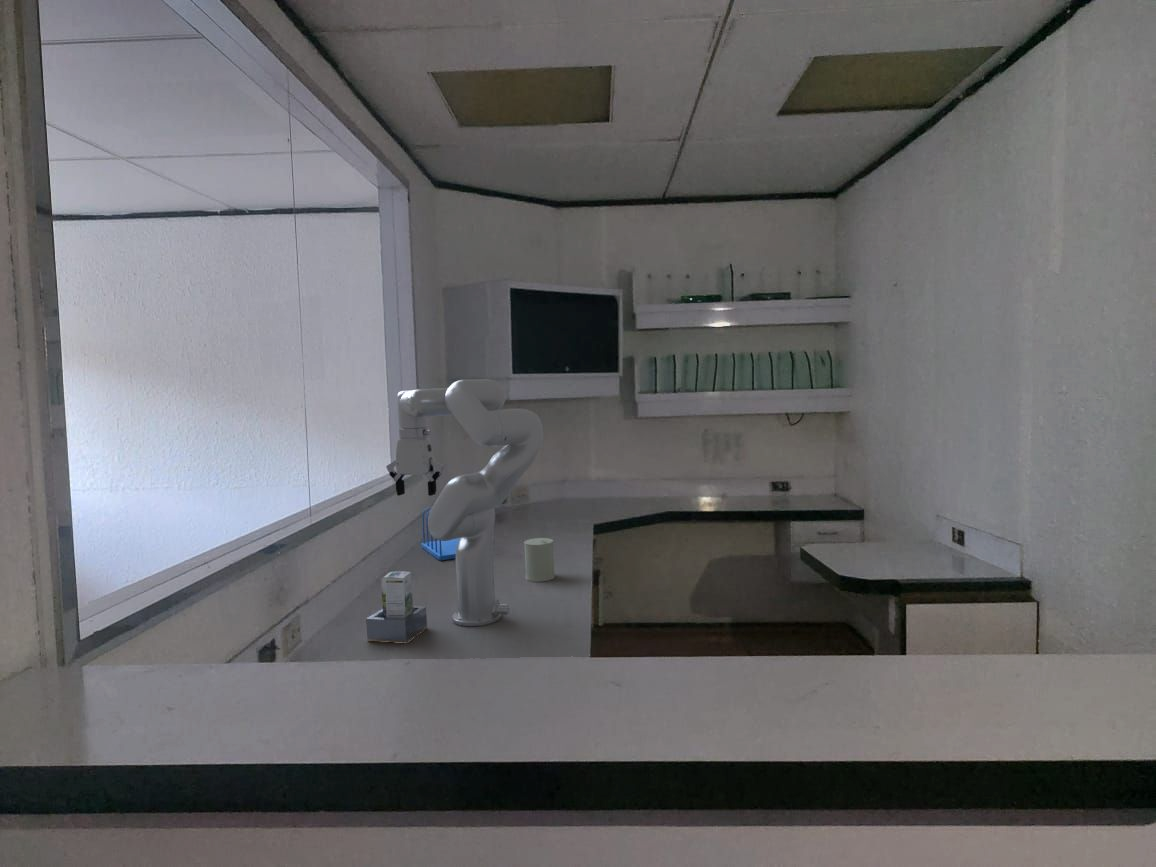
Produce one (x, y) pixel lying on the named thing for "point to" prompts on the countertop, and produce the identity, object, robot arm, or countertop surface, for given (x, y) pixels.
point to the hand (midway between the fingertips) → (416, 494)
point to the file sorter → (439, 544)
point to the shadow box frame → (396, 626)
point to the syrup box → (397, 595)
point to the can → (539, 559)
